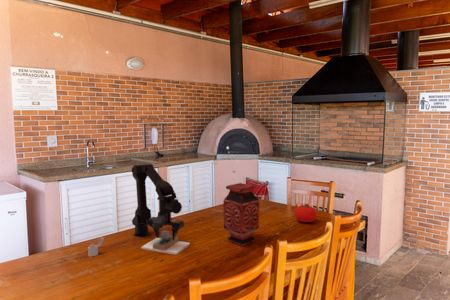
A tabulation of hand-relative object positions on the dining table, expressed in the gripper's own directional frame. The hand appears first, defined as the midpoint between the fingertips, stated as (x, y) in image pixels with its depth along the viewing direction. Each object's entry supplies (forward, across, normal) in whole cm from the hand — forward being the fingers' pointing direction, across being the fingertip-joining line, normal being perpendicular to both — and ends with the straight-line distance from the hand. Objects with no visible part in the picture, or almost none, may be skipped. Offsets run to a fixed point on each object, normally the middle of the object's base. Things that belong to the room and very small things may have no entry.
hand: (165, 239), depth 173 cm
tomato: (+4, +60, +68) cm, 91 cm away
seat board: (+4, 0, 0) cm, 4 cm away
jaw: (+3, -3, 0) cm, 4 cm away
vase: (+4, +33, +22) cm, 40 cm away
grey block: (+3, 0, 0) cm, 3 cm away
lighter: (+4, -26, -21) cm, 34 cm away
